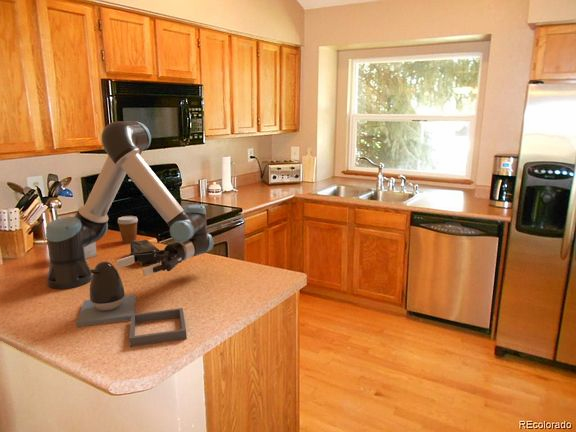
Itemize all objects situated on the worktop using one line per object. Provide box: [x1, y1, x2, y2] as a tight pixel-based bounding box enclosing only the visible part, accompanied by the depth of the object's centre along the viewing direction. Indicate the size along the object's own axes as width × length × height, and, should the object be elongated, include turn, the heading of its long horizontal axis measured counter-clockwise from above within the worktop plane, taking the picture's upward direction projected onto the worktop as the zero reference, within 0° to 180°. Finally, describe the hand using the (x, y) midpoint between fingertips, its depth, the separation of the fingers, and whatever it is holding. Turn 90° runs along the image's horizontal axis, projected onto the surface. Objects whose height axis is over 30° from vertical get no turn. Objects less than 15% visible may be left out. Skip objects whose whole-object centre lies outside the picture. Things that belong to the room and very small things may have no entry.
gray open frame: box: [128, 307, 187, 348], centre depth 127 cm, size 15×15×2 cm
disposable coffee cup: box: [116, 215, 139, 244], centre depth 212 cm, size 10×10×12 cm
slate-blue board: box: [76, 294, 137, 328], centre depth 138 cm, size 16×16×2 cm
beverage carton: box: [129, 239, 161, 267], centre depth 189 cm, size 8×19×7 cm, turn 33°
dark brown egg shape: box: [89, 261, 126, 311], centre depth 137 cm, size 10×10×15 cm
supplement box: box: [84, 242, 97, 260], centre depth 190 cm, size 9×9×15 cm
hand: (130, 268), depth 144 cm, fingers open, 13 cm apart
